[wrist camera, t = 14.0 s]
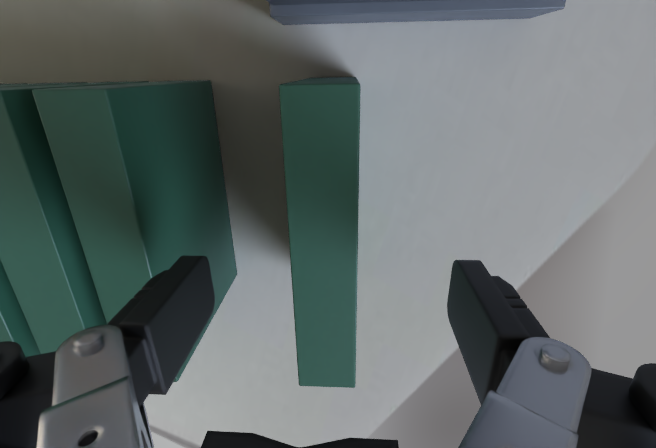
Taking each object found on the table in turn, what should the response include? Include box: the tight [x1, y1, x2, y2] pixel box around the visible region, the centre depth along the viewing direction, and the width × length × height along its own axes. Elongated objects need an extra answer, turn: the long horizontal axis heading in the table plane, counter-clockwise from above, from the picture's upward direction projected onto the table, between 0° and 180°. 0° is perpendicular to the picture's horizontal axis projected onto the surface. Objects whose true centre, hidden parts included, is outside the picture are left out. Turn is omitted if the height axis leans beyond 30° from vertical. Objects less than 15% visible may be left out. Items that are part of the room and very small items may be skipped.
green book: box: [279, 77, 360, 388], centre depth 17 cm, size 2×12×9 cm, turn 1°
